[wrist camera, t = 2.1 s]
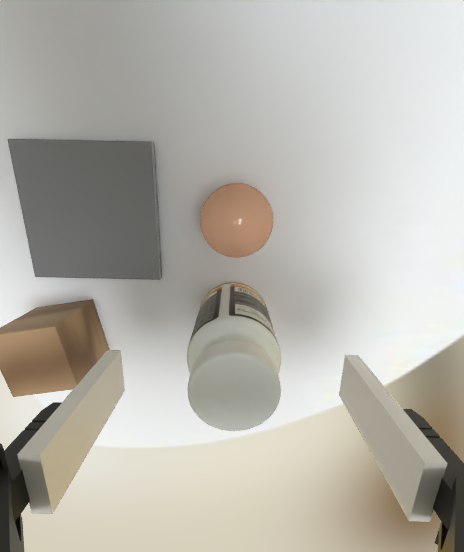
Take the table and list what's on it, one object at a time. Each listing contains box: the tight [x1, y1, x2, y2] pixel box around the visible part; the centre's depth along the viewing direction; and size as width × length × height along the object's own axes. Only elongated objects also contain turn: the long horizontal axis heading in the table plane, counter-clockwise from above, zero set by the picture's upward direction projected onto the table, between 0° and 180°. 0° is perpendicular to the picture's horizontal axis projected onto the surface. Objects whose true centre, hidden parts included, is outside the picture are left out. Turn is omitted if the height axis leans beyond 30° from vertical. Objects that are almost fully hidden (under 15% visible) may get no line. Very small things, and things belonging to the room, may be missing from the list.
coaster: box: [8, 139, 162, 280], centre depth 20 cm, size 10×10×1 cm
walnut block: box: [0, 300, 109, 397], centre depth 21 cm, size 5×5×5 cm
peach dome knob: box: [201, 183, 273, 257], centre depth 18 cm, size 4×4×4 cm
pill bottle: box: [187, 283, 281, 431], centre depth 18 cm, size 6×6×10 cm
